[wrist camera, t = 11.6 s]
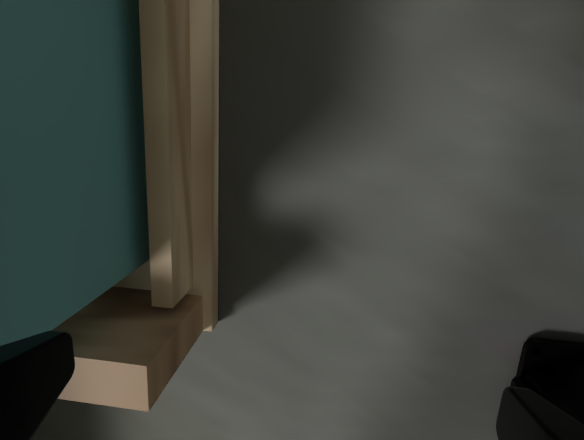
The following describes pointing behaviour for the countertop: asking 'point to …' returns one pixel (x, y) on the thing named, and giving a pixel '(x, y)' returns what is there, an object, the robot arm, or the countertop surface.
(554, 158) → the countertop surface
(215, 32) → the book rack
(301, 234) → the countertop surface
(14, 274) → the teal book
